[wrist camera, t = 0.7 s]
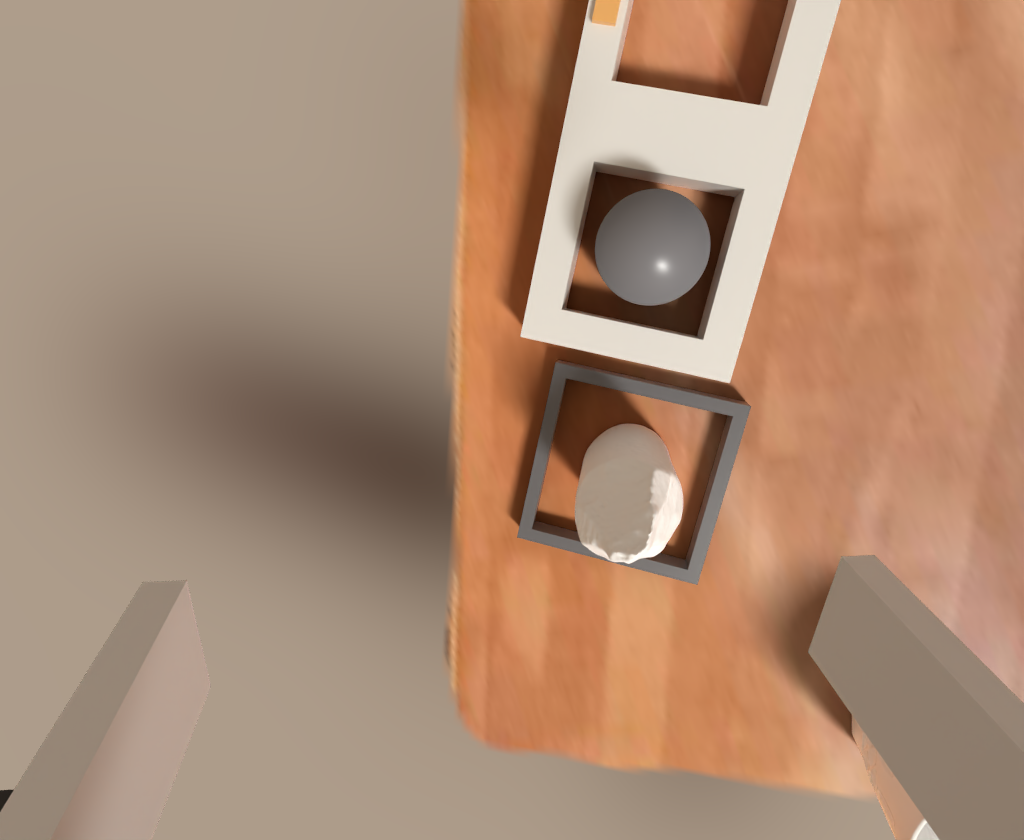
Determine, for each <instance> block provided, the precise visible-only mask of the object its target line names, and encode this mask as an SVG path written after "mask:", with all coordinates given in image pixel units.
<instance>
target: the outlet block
mask: <svg viewBox="0 0 1024 840" xmlns="http://www.w3.org/2000/svg"><path fill="white" fill-rule="evenodd" d="M633 1H634V0H589V3H588V8H587V13H586V17H585V22H584V27H583V32H582V37H581V42H580V47H579V52H578V57H577V62H576V66H575V71H574V76H573V81H572V86H571V91H570V96H569V101H568V106H567V111H566V115H565V120H564V125H563V130H562V135H561V140H560V145H559V150H558V155H557V160H556V164H555V169H554V174H553V179H552V184H551V189H550V194H549V199H548V204H547V209H546V213H545V218H544V223H543V228H542V233H541V238H540V243H539V248H538V253H537V257H536V262H535V267H534V272H533V277H532V282H531V287H530V292H529V297H528V302H527V306H526V311H525V316H524V321H523V326H522V331H521V336H520V337H524V338H528V339H533V340H537V341H542V342H546V343H551V344H555V345H560V346H564V347H569V348H573V349H578V350H582V351H587V352H591V353H596V354H600V355H605V356H609V357H614V358H618V359H623V360H627V361H632V362H636V363H641V364H645V365H650V366H654V367H659V368H663V369H668V370H672V371H677V372H681V373H686V374H690V375H695V376H699V377H704V378H709V379H713V380H718V381H722V382H727V383H730V381H731V377H732V374H733V370H734V367H735V363H736V360H737V357H738V353H739V350H740V346H741V343H742V339H743V336H744V332H745V329H746V326H747V322H748V319H749V315H750V312H751V308H752V305H753V301H754V298H755V295H756V291H757V288H758V284H759V281H760V277H761V274H762V270H763V267H764V264H765V260H766V257H767V253H768V250H769V246H770V243H771V239H772V236H773V233H774V229H775V226H776V222H777V219H778V215H779V212H780V208H781V205H782V202H783V198H784V195H785V191H786V188H787V184H788V181H789V177H790V174H791V171H792V167H793V164H794V160H795V157H796V153H797V150H798V146H799V143H800V140H801V136H802V133H803V129H804V126H805V122H806V119H807V115H808V112H809V109H810V105H811V102H812V98H813V95H814V91H815V88H816V85H817V81H818V78H819V74H820V71H821V67H822V64H823V60H824V57H825V54H826V50H827V47H828V43H829V40H830V36H831V33H832V29H833V26H834V23H835V19H836V16H837V12H838V9H839V5H840V2H841V0H788V4H787V7H786V11H785V15H784V18H783V22H782V26H781V30H780V33H779V37H778V41H777V44H776V48H775V52H774V55H773V59H772V63H771V66H770V70H769V74H768V77H767V81H766V85H765V88H764V92H763V96H762V99H761V103H760V105H756V104H750V103H744V102H738V101H732V100H726V99H720V98H714V97H707V96H701V95H695V94H689V93H683V92H677V91H671V90H665V89H659V88H653V87H647V86H641V85H635V84H629V83H623V82H617V81H616V79H617V74H618V70H619V65H620V61H621V56H622V52H623V47H624V43H625V38H626V33H627V29H628V24H629V20H630V15H631V11H632V6H633ZM596 172H601V173H607V174H612V175H617V176H623V177H628V178H634V179H639V180H644V181H650V182H655V183H661V184H666V185H672V186H677V187H682V188H688V189H693V190H699V191H704V192H709V193H715V194H720V195H726V196H731V197H735V198H734V202H733V206H732V209H731V213H730V217H729V220H728V224H727V228H726V231H725V235H724V239H723V242H722V246H721V250H720V253H719V257H718V261H717V264H716V268H715V272H714V275H713V279H712V283H711V286H710V290H709V294H708V297H707V301H706V305H705V308H704V312H703V316H702V319H701V323H700V327H699V330H698V334H697V336H694V335H690V334H685V333H680V332H676V331H671V330H666V329H662V328H657V327H652V326H648V325H643V324H638V323H634V322H629V321H624V320H620V319H615V318H610V317H605V316H601V315H596V314H591V313H587V312H582V311H577V310H573V309H568V308H566V307H567V302H568V298H569V293H570V289H571V284H572V279H573V275H574V270H575V266H576V261H577V257H578V252H579V248H580V243H581V238H582V234H583V229H584V225H585V220H586V216H587V211H588V207H589V202H590V197H591V193H592V188H593V184H594V179H595V175H596ZM709 254H710V234H709V229H708V226H707V223H706V220H705V219H704V217H703V215H702V213H701V212H700V210H699V209H698V208H697V207H696V206H695V205H694V203H692V202H691V201H690V200H689V199H687V198H686V197H684V196H682V195H681V194H678V193H676V192H674V191H670V190H665V189H647V190H642V191H639V192H635V193H633V194H631V195H629V196H627V197H625V198H624V199H622V200H621V201H619V202H618V203H617V204H616V205H615V206H614V207H613V208H612V209H611V210H610V211H609V212H608V214H607V215H606V216H605V218H604V220H603V221H602V223H601V225H600V228H599V230H598V233H597V237H596V243H595V258H596V263H597V267H598V270H599V273H600V275H601V277H602V279H603V281H604V282H605V283H606V285H607V286H608V287H609V288H610V289H611V290H612V291H613V292H614V293H615V294H616V295H618V296H619V297H621V298H622V299H624V300H626V301H629V302H631V303H635V304H639V305H652V306H653V305H660V304H664V303H668V302H671V301H673V300H675V299H677V298H679V297H681V296H682V295H684V294H685V293H686V292H688V291H689V290H690V289H691V288H692V287H693V286H694V285H695V284H696V283H697V281H698V280H699V279H700V277H701V275H702V274H703V272H704V270H705V268H706V265H707V262H708V259H709Z"/></svg>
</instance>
